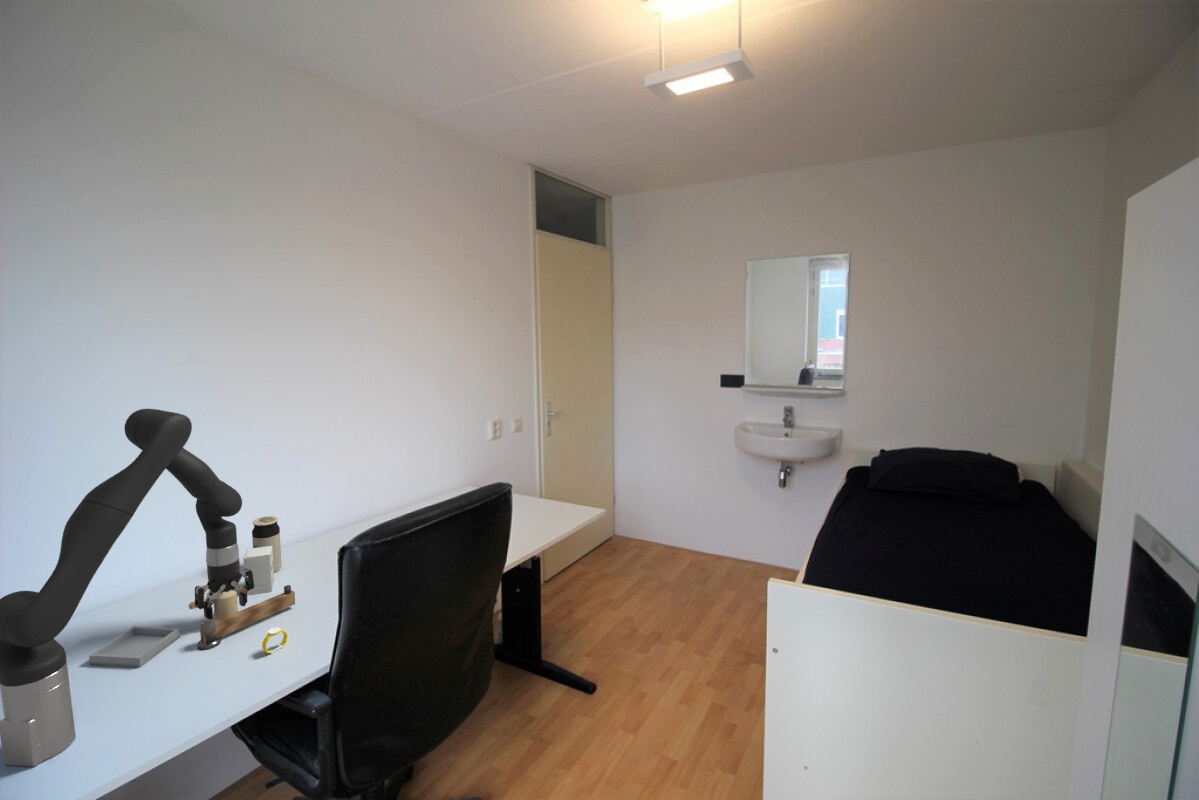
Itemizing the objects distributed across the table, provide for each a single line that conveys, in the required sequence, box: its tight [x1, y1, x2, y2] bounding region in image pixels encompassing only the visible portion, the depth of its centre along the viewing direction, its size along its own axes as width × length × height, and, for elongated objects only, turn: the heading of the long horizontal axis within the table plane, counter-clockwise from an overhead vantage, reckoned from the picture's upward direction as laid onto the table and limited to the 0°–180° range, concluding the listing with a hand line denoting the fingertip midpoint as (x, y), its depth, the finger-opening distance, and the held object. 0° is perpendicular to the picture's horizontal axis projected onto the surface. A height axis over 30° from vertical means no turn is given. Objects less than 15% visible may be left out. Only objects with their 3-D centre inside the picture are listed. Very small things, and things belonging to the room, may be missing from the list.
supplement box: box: [243, 546, 275, 596], centre depth 170 cm, size 7×7×13 cm
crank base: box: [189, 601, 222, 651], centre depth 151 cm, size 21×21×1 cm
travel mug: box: [251, 515, 282, 573], centre depth 182 cm, size 8×8×18 cm
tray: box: [88, 625, 181, 668], centre depth 139 cm, size 13×13×2 cm
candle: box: [213, 588, 239, 621], centre depth 152 cm, size 6×6×10 cm
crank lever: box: [199, 584, 296, 644], centre depth 151 cm, size 24×3×6 cm, turn 149°
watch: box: [261, 626, 288, 654], centre depth 141 cm, size 6×3×6 cm, turn 152°
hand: (226, 611), depth 153 cm, fingers open, 8 cm apart
